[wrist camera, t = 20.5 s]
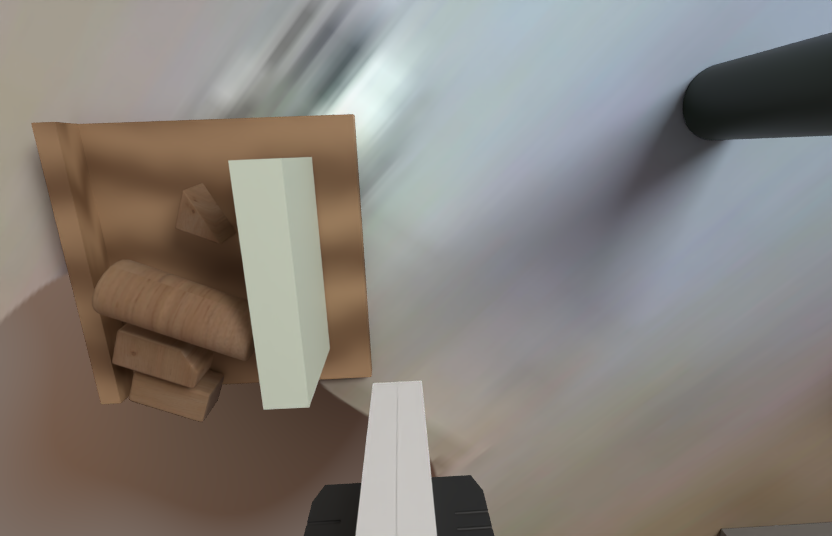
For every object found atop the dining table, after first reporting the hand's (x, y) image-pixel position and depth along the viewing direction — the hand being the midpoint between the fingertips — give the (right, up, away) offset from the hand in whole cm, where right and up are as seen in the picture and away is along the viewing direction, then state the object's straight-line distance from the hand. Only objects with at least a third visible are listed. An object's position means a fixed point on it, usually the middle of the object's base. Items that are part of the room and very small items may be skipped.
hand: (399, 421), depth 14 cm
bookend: (-9, +5, +22) cm, 24 cm away
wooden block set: (-21, +3, +19) cm, 28 cm away
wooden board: (-15, +6, +23) cm, 28 cm away
